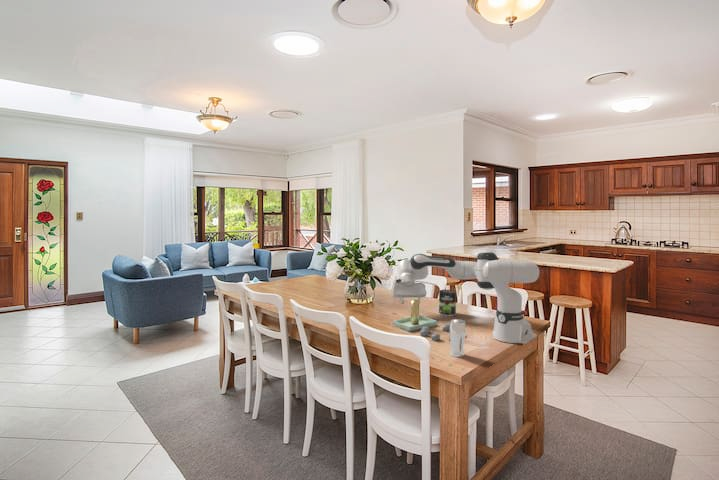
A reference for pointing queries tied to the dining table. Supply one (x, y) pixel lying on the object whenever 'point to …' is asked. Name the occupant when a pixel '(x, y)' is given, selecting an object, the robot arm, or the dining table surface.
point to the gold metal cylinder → (414, 312)
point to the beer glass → (457, 337)
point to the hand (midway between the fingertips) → (410, 303)
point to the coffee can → (447, 302)
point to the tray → (407, 326)
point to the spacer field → (435, 336)
